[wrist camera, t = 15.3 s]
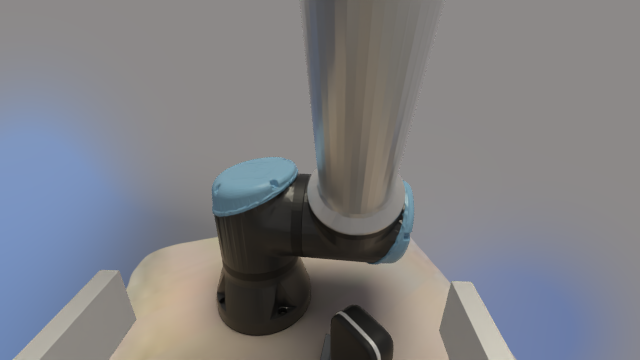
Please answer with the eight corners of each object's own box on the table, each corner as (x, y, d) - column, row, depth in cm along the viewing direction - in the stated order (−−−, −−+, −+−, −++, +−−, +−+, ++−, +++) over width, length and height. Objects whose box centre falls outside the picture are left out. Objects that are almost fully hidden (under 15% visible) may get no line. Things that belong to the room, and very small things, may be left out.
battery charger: (390, 402, 36) (401, 335, 31) (366, 424, 34) (375, 357, 29) (350, 357, 41) (354, 293, 36) (327, 374, 39) (329, 309, 34)
